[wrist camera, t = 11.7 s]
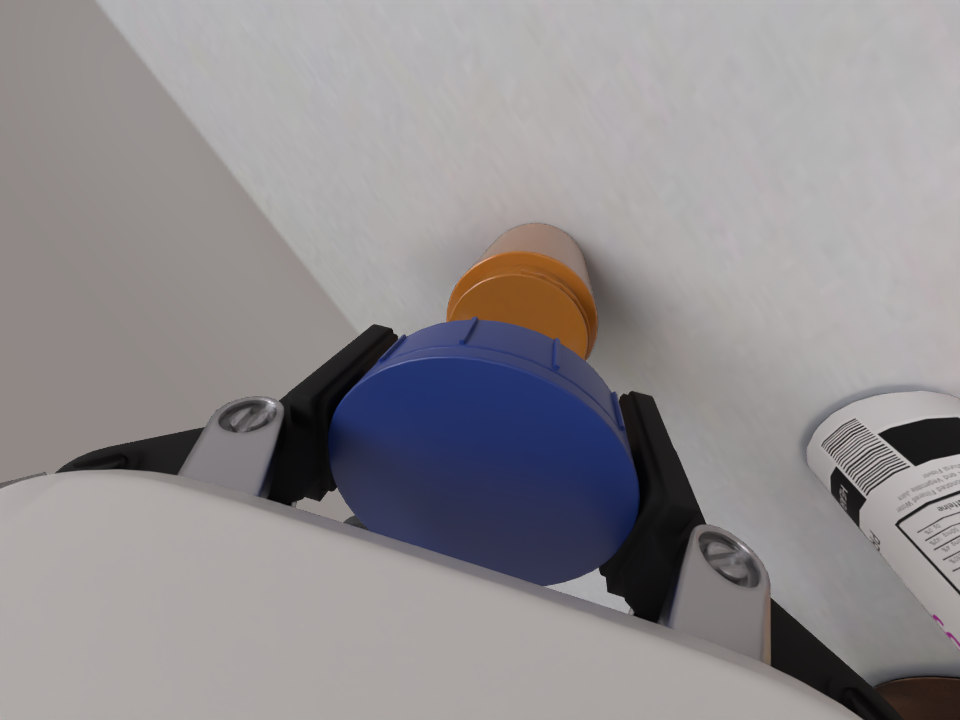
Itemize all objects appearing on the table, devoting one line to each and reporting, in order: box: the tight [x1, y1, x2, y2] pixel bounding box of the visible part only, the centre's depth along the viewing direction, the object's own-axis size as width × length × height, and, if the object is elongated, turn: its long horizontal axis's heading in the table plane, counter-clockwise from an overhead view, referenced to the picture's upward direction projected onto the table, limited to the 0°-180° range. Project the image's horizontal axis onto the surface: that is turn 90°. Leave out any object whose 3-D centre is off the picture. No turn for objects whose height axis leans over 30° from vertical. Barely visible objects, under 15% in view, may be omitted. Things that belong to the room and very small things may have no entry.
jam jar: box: [446, 223, 598, 361], centre depth 18 cm, size 7×7×10 cm
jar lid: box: [328, 317, 640, 586], centre depth 8 cm, size 7×7×2 cm
